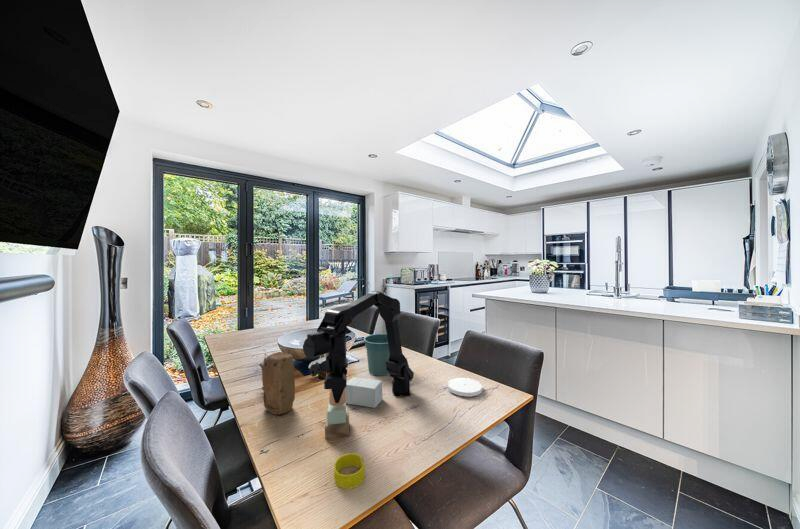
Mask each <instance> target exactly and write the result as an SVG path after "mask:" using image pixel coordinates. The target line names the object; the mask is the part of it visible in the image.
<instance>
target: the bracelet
mask: <svg viewBox="0 0 800 529" xmlns="http://www.w3.org/2000/svg"><path fill="white" fill-rule="evenodd" d="M363 462H364V461H363V458H362V456H361V454H358V453H356V452H355V453H354V452H351V453H347V454H342V455H341V456H339V457H338V458H337V459H336V460H335V462H334V464H333V468H334V469H333V479H334V484H335V485H337V487H340V488H342V489H348V490H349V489H353V488H357V487H358V486H359V485H362V483H363V482H364V479H365V463H363ZM346 467H347V468H348V467H357V468H359V470H357V471H356V472H355V473H352V474H341V473H339V472H340V471H341V470H342V469H345V468H346Z"/></svg>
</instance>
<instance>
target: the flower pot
mask: <svg viewBox="0 0 800 529" xmlns="http://www.w3.org/2000/svg"><path fill="white" fill-rule="evenodd" d="M363 341H364V344H365V348H366V357H367V367H368V368H367V369H368V372H369V374H370V375H372V376H377V375H378V376H380V377H381V376H382V377H384V376H388V374H389V373H388V371H387V370H386V361H387V360H388V359H389V356H390V353H389V346H388V340H387V333H373V334H369V335H366V336H364V338H363Z"/></svg>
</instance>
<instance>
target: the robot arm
mask: <svg viewBox="0 0 800 529" xmlns="http://www.w3.org/2000/svg"><path fill="white" fill-rule="evenodd" d="M374 306H375V308H377V310H378V314H379V316H380V317H381V318H382V320H383V321H384V325H385V334H387V340H388V346H389V353H390V356H389V359H388V360H387V361H386V370H387V371H388V373H389V377H390V378H392V379H393V380H392V381H391V390H392V394H393V396H394V397H397V398H398V397H409V396H411V395H412V394H411V386H410V385H411V384H410V383H411V382H412V379H414V373H415V372H413V370H412V369H411V368H410V365H409V362H408V359H407V358H406V356H405V354H403V348H402V343H401V342H402V341H401V336H400V328H399V321H398V318H399V317H400V315H401V303H400V300H399V299H397V298H393V297H391V296H390V295H389V296H388V295H387V294H384V293H383V292H381V291H379V290H377V291H376V290H371V291H368V293H366V294H365V295H362V296H361V297H359V298H357V299H356V300H353V301H352V302H350V303H348V304H345V305H342V306H341V305H340V306H335V307H333V308H329V309H327V310H326V311H325V312H324V317H323V318H322V320H321V321H320V323H319V325H318V328H317V329H316V332H315V333H308V334H307V335H306V337H307V338H306V339H305V340H304V341H303V344H302V350H303V353H304V355H305V357H306V358H307V359H311V360H312V359H313V358H316V357H319V356H324V355H325V354H326V356H324V357H320V358H318V359H315V360H314V361H311V362H310V363H309V365H308V374H310V375H311V377H317V376H318V375H319V374H321V373H324V372H325V374H327V375H326V376H325V378H324V382H323V383H324V384H323V389H324V390H329V389H331V390H332V393H333V397H334V400H335V403H339V401H340V399H341V396H342V393H343V391H344V388H345V387H346V385H347V382H348V381H347V379H348V378H347V374H348V369H347V368H348V367H349V360H348V358H347V335H349V334H351V333H352V330H350V329H349V325H350V324H352V323H353V321H354V318H356V316H358V315H360V314H361V313H364V312H366V310H368V309H370V308H372V307H374Z"/></svg>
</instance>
